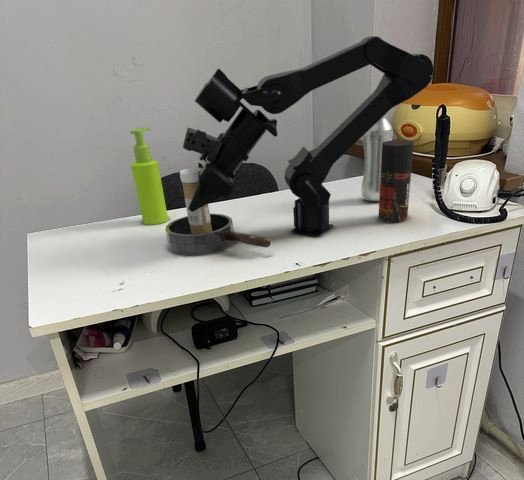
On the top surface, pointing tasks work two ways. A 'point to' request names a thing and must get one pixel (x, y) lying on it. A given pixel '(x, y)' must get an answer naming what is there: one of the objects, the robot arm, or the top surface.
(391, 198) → the deodorant
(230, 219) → the pan
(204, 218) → the sprinkles bottle
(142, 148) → the soap dispenser
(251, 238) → the pan handle
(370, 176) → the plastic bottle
